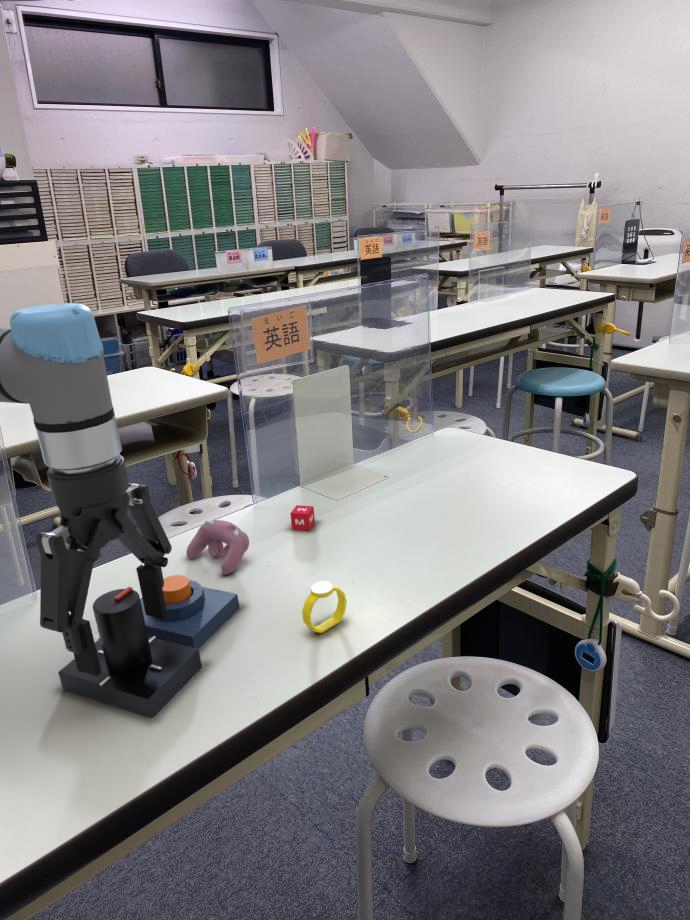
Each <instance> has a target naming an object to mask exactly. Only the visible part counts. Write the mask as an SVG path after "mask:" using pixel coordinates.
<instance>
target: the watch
mask: <svg viewBox="0 0 690 920" xmlns="http://www.w3.org/2000/svg"><path fill="white" fill-rule="evenodd" d="M334 592H336V595H337V599H338V600H337V605H336V609H335V610H334V613H333V614H332V615H331V617H329V618H327V619H326V620H324V621H323V622H321V623H320V624H318V625H313V623H312V615H311V614H312V611H313V608H314V605H315V604H316V602H317V601H318V600H319V599H323V598H327V597H329V596H331V595H332V594H333V593H334ZM347 602H348V601H347V598H346V594H345V592H344V591H343V590H342V589H340V587H338V586H336V585H334V584H332V582H330V581H327V580H321V581H317V582H314V583H313V584H312V585H311V586H310V593H309V595H307V598H306V599H305V601H304V604H303V607H302V611H301V613H302V614H301V616H302V621H303V623H304V624H305V625H306V626H307V628H308V629H310V630H311V631H313V632H314V633H318V634H323V633H325V632H326V631H327V630H329V629H331V628H332V627H335V625H337V624H340V622H341V621H342V619H343V617H344V615H345V613H346V608H347Z"/></svg>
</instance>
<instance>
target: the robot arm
mask: <svg viewBox="0 0 690 920" xmlns="http://www.w3.org/2000/svg"><path fill="white" fill-rule="evenodd" d="M9 325H10V327H9V326H5V327H4V326H0V403H9V404H10V403H11V404H25V405H26V404H27V405H28V404H29V408H30V410H31V414H32V417H33V418H32V420H33V424H34V427H35V430H36V435H37V439H38V443H39V447H40V451H41V455H42V459H43V463H44V464H45V466H46V467H48V469H47V471H46V476H47V480H48V481H47V482H48V485H49V489H50V493H51V497H52V500H53V502H54V504H55V505H56V507H57V508H58V510H59V513H60V520H59V526H58V527H56V528H55V529H53V530H51V531H50V532H45V531H44V532H43V531H41V532H39V533H38V534H37V535H36V538H35V541H36V544H37V547H38V551H39V554H40V597H39V598H40V599H39V600H40V601H39V605H40V606H39V624H40V627H41V628H43V629H46V630H50V631H54V632H57V633H60V634H62V637H63V640H64V645H65V648H66V650H67V651H68V652H70V653H72V654H73V657H74V658H73V659H75V662H76V665H77V669H78V671H81V672H84V673H87V674H90V675H93V676H98V675H99V674H100V673H101V672H102V671H101V667H100V662H99V658H98V654H97V650H96V646H95V642H96V641H95V638H94V635H93V629H92V626H91V621H90V620H88V619H84V615H85V614H84V613H85V607H86V603H87V598H88V594H89V589H90V584H91V579H92V574H93V568H94V563H95V562H96V561H98V559H99V557H100V553H101V549H102V548H104V547H105V546H106V545H107V544H108V543H109V542H111V541H114V540H119V542H120V543H121V544H122V545H124V546H125V548H126V549H127V550H128V551H129V552H131V554H132V555H133V556H134V557H136V559H137V560H138V561H139V562H140V563H142V564H139V565H138V566H137V567H135V569H136V574H137V578H138V583H139V584H138V585H139V588H140V589H139V590H140V594H141V598H142V599H143V603H144V608H145V613H146V615H148V616H152V617H156V618H160V619H165V618H166V617H167V616H168V615H167V610H166V605H165V600H164V594H163V589H162V588H163V587H164V574H163V568H166V567H167V566H168V564H169V558H168V557H165V555H169V554H170V553H171V552H172V549H173V546H172V544H171V542H170V539H169V538H168V536H167V533H166V531H165V529H164V527H163V526H162V523H161V521H160V519H159V517H158V515H157V513H156V510H155V508H154V506H153V504H152V503H151V496H150V489H149V486H147V485H145V484H138V483H131V482H129V477H128V473H127V472H128V471H127V468H126V462H125V458H124V457H123V455H121V454H120V453H122V451H123V447H122V442H121V438H120V433H119V428H118V423H117V419H116V414H115V408H114V406H113V399H112V395H111V390H110V385H109V379H108V374H107V368H106V367H107V366H106V362H105V361H106V360H105V355H104V345H103V343H102V341H101V338H100V334H99V331H98V327H97V323H96V320H95V315H94V313H93V311H92V310H91V309H90V308H89V307H88V306H86V305H84V304H81V303H75V302H74V303H73V302H72V303H71V302H70V303H69V302H66V303H57V304H55V303H53V304H50V303H49V304H44V305H35V306H31V307H25V308H21V309H18V310H16V311H14V312H13V313H12V314H11V315H10V318H9ZM128 510H129V512H130V515H131V516H132V518H133V519H134V521H132V520H131V518H130V517H129V516H128V514H127V513H128ZM138 530H139V531H138ZM80 547H82V548H85V549H87V550H81V549H80Z"/></svg>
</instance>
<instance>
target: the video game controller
mask: <svg viewBox="0 0 690 920" xmlns="http://www.w3.org/2000/svg"><path fill="white" fill-rule="evenodd" d="M224 544H226V545H225V546H224ZM249 546H250V538H249V536H248V534H247V533H246V532H244V531H242V529H241V528H240V527H239V526H238V525H236V524H234V523H233V522H231V521H227V520H223V519H222V520H221V519H211V520H205V521H204V523H203V524H201V525H200V527H199V529H198V530H197V532H196V533H195V535H194V536H193V538H192V540H190V542H189V544H188V546H187V547H186V548H187V549H186V557H187V558H188V559H191V560H192V559H194V558H197V557H198V556H199V555H200V554H201V553H203V551H204V550H205V549H206V548H207V547H208V554H209V555H210V556H213V557H220V556H221V560H222V564H221V567H220V568H221V573H222V574H223V575H227V576H228V575H230V574H231V573H232V572H234V571H235V570H236V569H237V568H238V566H239V565H240V563H241V562H242V560H243V557H244V555H245V553H246V552H247V551H248V549H249Z"/></svg>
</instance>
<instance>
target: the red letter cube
mask: <svg viewBox="0 0 690 920" xmlns="http://www.w3.org/2000/svg"><path fill="white" fill-rule="evenodd" d="M314 507H315V506H313V505H301V504H299V505H298V504H296V505H295V506H294V508H293V509H292V510H291V512H290V522H291V529H292V530H294V531H295V530H297V531H311V529H312V528H313V526H314V525H315V523H316V518H315V508H314Z"/></svg>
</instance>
